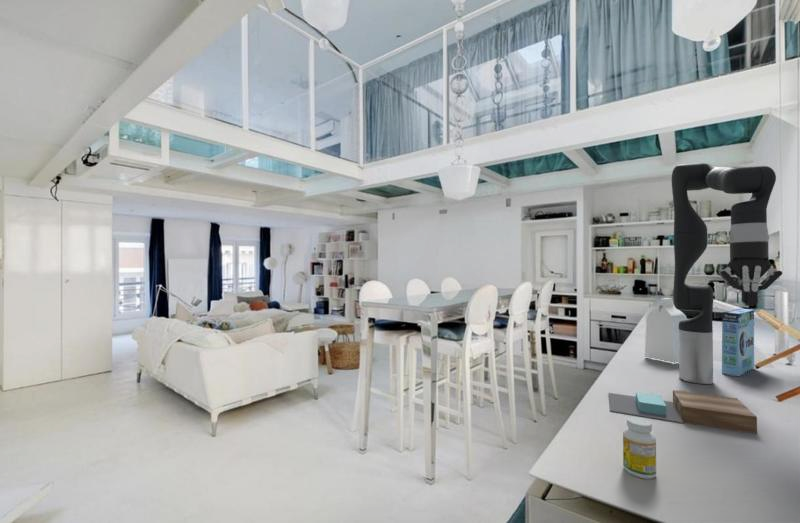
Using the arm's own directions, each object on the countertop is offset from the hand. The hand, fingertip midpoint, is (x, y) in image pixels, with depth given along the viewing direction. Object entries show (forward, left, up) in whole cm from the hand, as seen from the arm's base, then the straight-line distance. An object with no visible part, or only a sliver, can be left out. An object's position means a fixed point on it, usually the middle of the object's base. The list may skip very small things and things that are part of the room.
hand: (749, 305), depth 99 cm
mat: (+8, -25, -29) cm, 39 cm away
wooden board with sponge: (+8, -10, -29) cm, 32 cm away
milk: (-60, -10, -29) cm, 68 cm away
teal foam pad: (+8, -23, -28) cm, 37 cm away
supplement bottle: (+47, -29, -29) cm, 62 cm away
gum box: (-52, +11, -29) cm, 61 cm away
